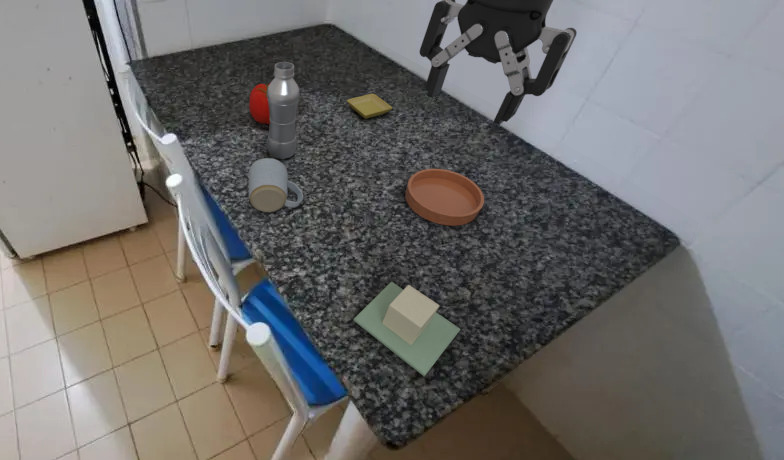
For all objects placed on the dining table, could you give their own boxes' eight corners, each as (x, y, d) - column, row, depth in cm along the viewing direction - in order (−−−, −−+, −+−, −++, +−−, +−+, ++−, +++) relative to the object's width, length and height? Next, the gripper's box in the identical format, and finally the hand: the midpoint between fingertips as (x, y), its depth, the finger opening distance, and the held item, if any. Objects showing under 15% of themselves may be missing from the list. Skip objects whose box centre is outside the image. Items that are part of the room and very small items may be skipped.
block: (429, 324, 58) (439, 305, 54) (411, 345, 55) (421, 327, 52) (400, 303, 60) (408, 284, 57) (381, 323, 58) (389, 304, 54)
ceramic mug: (248, 215, 74) (248, 184, 68) (249, 187, 80) (248, 156, 74) (304, 215, 74) (308, 184, 69) (300, 187, 80) (304, 156, 75)
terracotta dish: (491, 201, 78) (496, 191, 76) (457, 237, 71) (462, 227, 69) (427, 169, 85) (431, 160, 83) (391, 199, 78) (393, 190, 76)
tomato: (283, 136, 93) (284, 102, 87) (241, 126, 96) (239, 93, 89) (297, 115, 100) (299, 82, 93) (258, 106, 102) (257, 74, 96)
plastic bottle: (296, 162, 86) (303, 73, 71) (266, 162, 86) (266, 73, 71) (296, 146, 90) (301, 58, 76) (266, 145, 90) (267, 58, 76)
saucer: (363, 122, 98) (365, 115, 96) (344, 106, 103) (346, 99, 102) (391, 115, 100) (393, 107, 99) (371, 100, 106) (373, 92, 104)
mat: (459, 330, 58) (460, 329, 57) (424, 376, 53) (425, 375, 52) (390, 283, 64) (391, 281, 63) (353, 320, 59) (353, 318, 58)
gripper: (439, -63, 37) (397, 97, 49) (606, -34, 30) (510, 144, 42) (475, -72, 41) (428, 78, 52) (631, -49, 34) (537, 119, 46)
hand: (464, 107), depth 47 cm, fingers open, 8 cm apart
